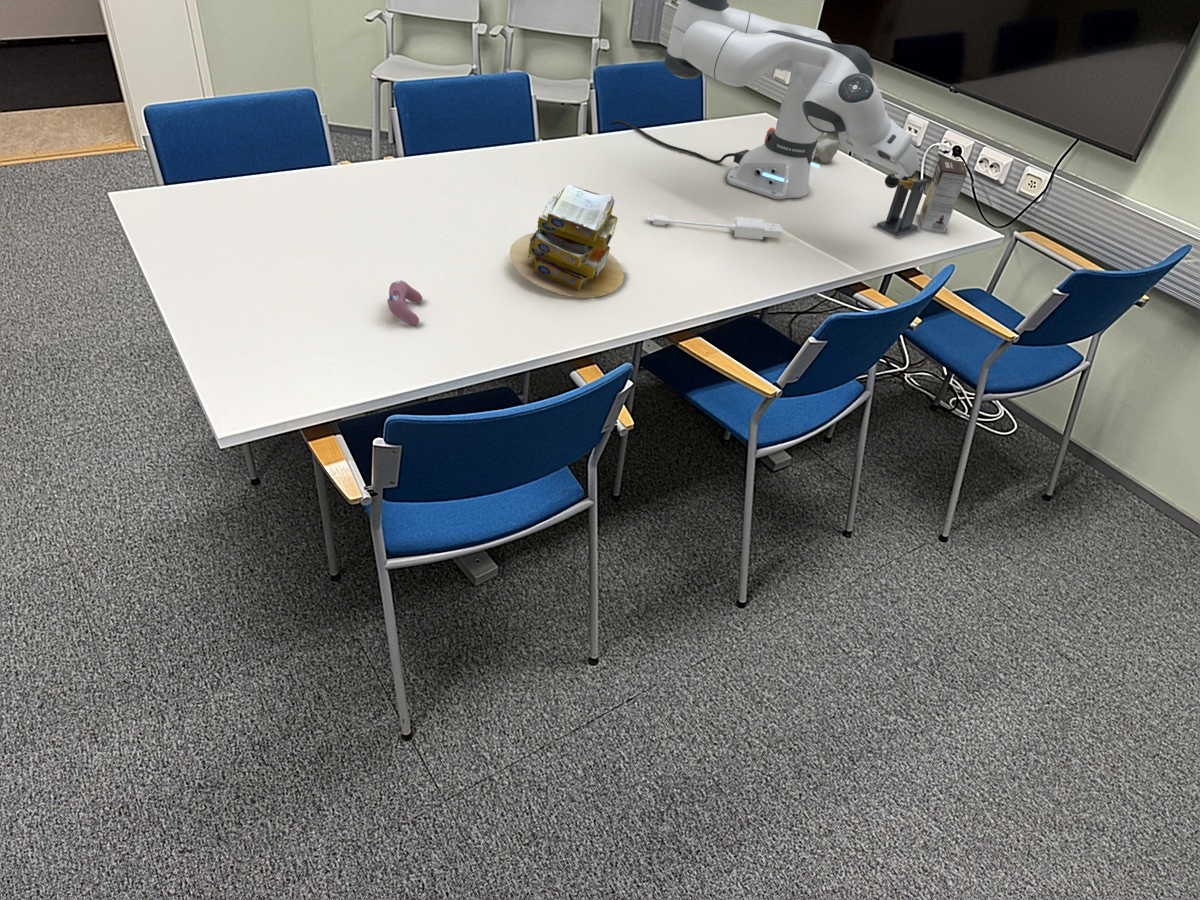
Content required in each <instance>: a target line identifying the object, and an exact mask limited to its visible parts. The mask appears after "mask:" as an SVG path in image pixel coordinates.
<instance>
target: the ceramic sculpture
mask: <svg viewBox="0 0 1200 900" xmlns="http://www.w3.org/2000/svg"><path fill="white" fill-rule="evenodd" d="M816 139H817V145H816V146H817V147H816V151H815V155H814V158H818V159H819V160H820V162H821V163H824V164H825V163H826V164H828V163H830V162H831V161H832V160H833V159H834V157H835V155H836V154H837V153H838V150H839V146H840V140H839V139H838V140H836V139H835V140H833V139H830V138H829V136H828V133H825V132H821V131H818V134H817V138H816Z"/></svg>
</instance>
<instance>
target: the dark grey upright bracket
mask: <svg viewBox="0 0 1200 900" xmlns="http://www.w3.org/2000/svg"><path fill="white" fill-rule="evenodd" d="M914 176H915V173H913V174H912V175H911V176H910V177H906V176H904V177H903V178H902V179H901V180H904V181H907V179H908V178H912V179H914ZM916 180H917V181H914V183H913V186H912V189H911V190H909V189H907V188H904V186H903V185H897V186H896V189H895V193H894V195H893V198H892V201H891V205H890V207H889V210H888V213H887V217H886V220H884V221H880V222H877V224H876V227H878V228H879V229H881V230H883V231H885V232H887V233H889V234H891V235H893V236H895V237H900V236H902V235H906V234H909V233H911V232H915V231H917V230H919V225H916V224H915V223H913V222H914V220H915V216H916V214H917V211H918V208H919V205H920V203H921V200H922V197H923V194H924V192H925V189H926V186H927V184H928V179H926V178H920V179H916ZM909 191H910V193H909ZM908 194H909V195H908ZM907 197H908V198H907ZM906 200H907V201H906ZM905 203H906V204H905ZM904 205H905V207H904ZM903 208H904V209H903ZM902 211H903V213H902ZM901 214H902V215H901Z"/></svg>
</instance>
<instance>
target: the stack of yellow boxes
mask: <svg viewBox="0 0 1200 900" xmlns="http://www.w3.org/2000/svg"><path fill="white" fill-rule="evenodd" d="M615 202H616V201H615V198H614V196H613V194H610V193H609V194H600V193H597V192H594V191H590V190H587V189H584V188H580V187H579V186H575V185H572V184H569V183H568V184H566V185H565V187H564V188H562V190H561V191H559V192H558V193H557V195H556V196H552V198H551V199H550V201H549V202H548V203H547V204H546V206H545V208H544V209H543V211H542V212H541V214H540V215H539V216H538V220H537V226H536V227H537V230H535V232H531V233H529V234H524V235H522V236H521V237H519V238H518V239H516V240H515V241H514V242H513V243H512V244H511V246H510V249H509V257H510V260H511V263H512V265H513V267H514V268H515V269H516V270H517V272H519V274H520V275H521V276H523V277H524V278H525V279H527V280H528V281H530V282H531V283H533V284H534V285H536V286H538V287H540V288H542V289H545V290H547V291H550V292H552V293H556V294H559V295H564V296H567V297H568V296H569V297H575V298H598V297H603V296H605V295H609V294H611V293H613V292H615V291H616V290H618V289H619V288H620V287H621V286H622V284H623V281H624V277H625V274H624V270H623V267H622V266H621V264H620V262H619V261H618V259H617V258H616V257H615V256H614V255H613V254H611V252H610V251H611V247H610V246H609V244H610V243H611V240H612V239H613V236H614V234H615V231H616V228H617V227H616V226H617V222H618V220H619V219H618V216H617V215H613V214H612V213H613V209H614V205H615Z"/></svg>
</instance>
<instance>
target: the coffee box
mask: <svg viewBox="0 0 1200 900" xmlns="http://www.w3.org/2000/svg"><path fill="white" fill-rule="evenodd" d="M966 170H967V169H966V166H965V162H964V161H961V160H954V159H948V158H944V157H943V158H942V157H939V158H938V161H937V163H936V166H935V169H934V171H933V174H932V178H931V180H930V183H929V185H928V188H927V192H926V194H925V198H924V200H923V202H922V206H921V209H920V212H919V214H918V215H919V221H920V227H921V229H926V230H931V231H935V232H941V233H945V232H946V229H947V227H948V225H949V222H950V219H951V217H952V215H953V212H954V209H955V207H956V204H957V201H958V199H959V195H960V193H961V191H962V188H963V186H964V183H965V181H966V178H967V175H968V173H967V171H966Z"/></svg>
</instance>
